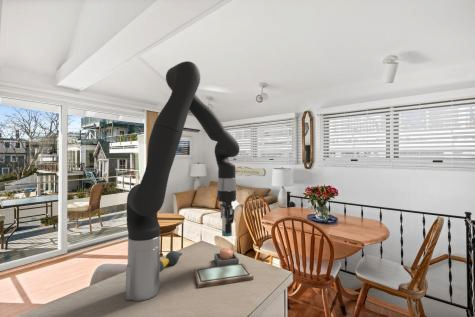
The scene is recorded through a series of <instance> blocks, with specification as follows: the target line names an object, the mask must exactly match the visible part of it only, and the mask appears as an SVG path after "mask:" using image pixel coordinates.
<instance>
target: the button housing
mask: <svg viewBox="0 0 475 317" xmlns="http://www.w3.org/2000/svg"><path fill="white" fill-rule="evenodd" d="M213 259H214V262H215V263H216V265H217V266H216V267H219V266H227V265H234V264H240V263H239V262H240V260H239V257H238V256H237V255H236V254H235V253H234V251H233V258H232V259H230V260H222V259H220V252H217V253H214V258H213Z"/></svg>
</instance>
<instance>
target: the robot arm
mask: <svg viewBox="0 0 475 317" xmlns="http://www.w3.org/2000/svg"><path fill="white" fill-rule="evenodd" d="M200 72H201V71H200V69H199V68H198V65H196V64H195V63H194V62H192V61H189V60H188V61H182V62H180V63H177V64H175V65H174V66H172V67H170V68H169V69H168V70H166V74H165V81H166V84H167V86H168V88H169V89H170V90H171V94H170V96H169V98H168V100H167V102H166V103H165V105H164V106H163V107H162V108H161V110H160V112H159V114H158V116H157V117H156V119H155V121H154V124H153V126H152V128H151V129H152V130H151V133H150V136H149V138H148V142H147V143H148V144H147V156H146V157H147V158H146V168H145V170H144V173H143V176H142V179H141V181H140V183H139V184H135V185H134V186H133V187H131V189H130V190H129V191H128V194H127V197H126V228H127V264H126V268H125V271H126V273H125V301H135V302H140V301H146V300H149V299H152V298H154V297H156V296H157V295H158V293H159V292H160V276H161V275H160V273H161V271H160V260H161V225H160V223H159V219H158V212H159V211H160V210H161V208H162V207H163V205H164V203H165V199H166V198H165V197H166V193H167V187H168V182H169V177H170V173H171V169H172V166H173V164H174V161H175V157H176V154H177V151H178V148H179V145H180V141H181V138H182V135H183V131H184V128H185V124H186V123H187V122H186V121H187V118H188V115H189V114H188V113H189V112H190V113H191V114H192V115H193V116H194V117H195V119H196V120H197V121H198V122H199V124H200V126H201V127H202V129H203V130H204V132H205V133H206V135H207V136H208V138H209V139H210V140H211V141H214V142H216V144H215V146H214V156H215V160H216V164H217V168H218V171H217V173H218V174H217V201H218V202H220V204H219V206H220V208H219V209H220V219H222V216H224V218H225V233H226V234H228V233H231V224H232V225H233V224H234V218H235V209H234V207H233V205H232V202H235V201H236V200H237V180H236V165H235V164H234V163H231V162H230V159H229V158H235V157H237V156H238V155H239V153H240V145H239V143H238V141H237V139H236V138H235V137H234V136H233V135H232V134H231V133H230V132H229V131H228V130H227V129H226V128H225V127H224V125H223V123H222V121H221V120H220V118H219V117H218V115H217V114H216V113H215V112H214V111H213V109H211V108H210V107H208V106H207V105H206V103H204V102H203V101H202V100H201V99H200V98H199V97H198V96H197V91H198V88H199V85H200V82H201V73H200ZM226 215H227V216H226ZM229 218H230V220H229Z"/></svg>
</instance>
